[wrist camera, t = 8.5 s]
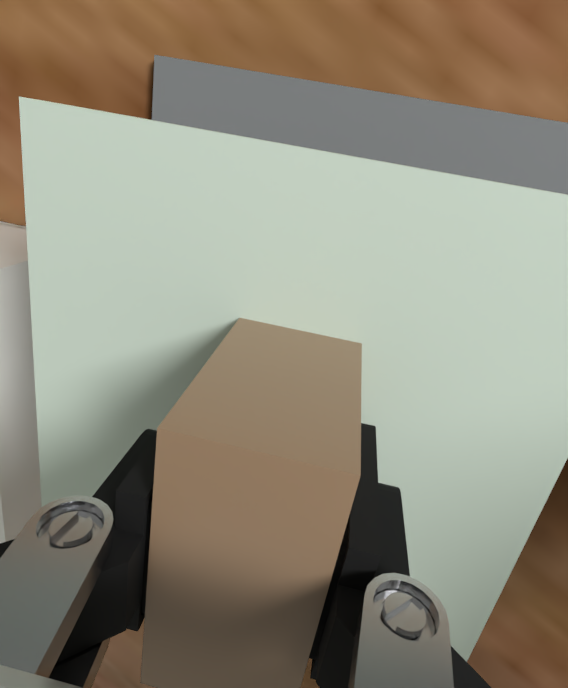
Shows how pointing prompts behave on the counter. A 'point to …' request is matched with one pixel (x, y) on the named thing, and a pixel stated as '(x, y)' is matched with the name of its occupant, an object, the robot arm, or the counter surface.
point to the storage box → (16, 388)
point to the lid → (290, 369)
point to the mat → (363, 123)
